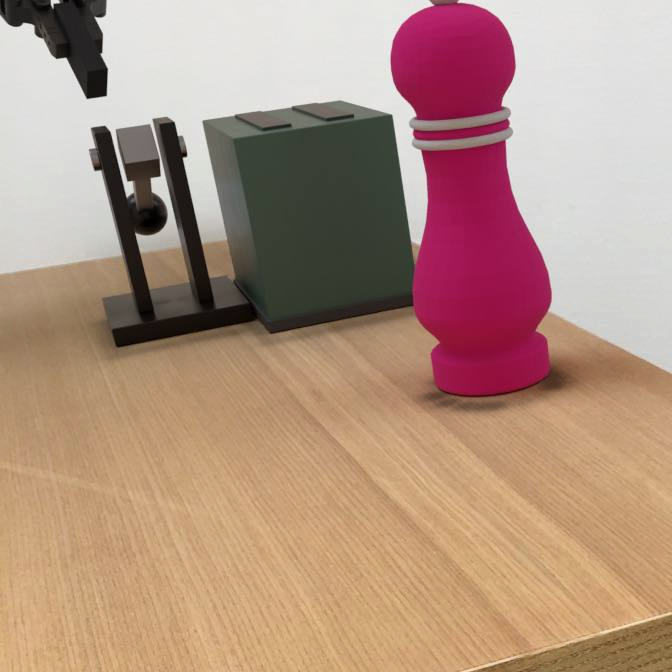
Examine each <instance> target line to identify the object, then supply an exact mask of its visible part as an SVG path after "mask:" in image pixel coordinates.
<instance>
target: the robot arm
mask: <svg viewBox="0 0 672 672" xmlns="http://www.w3.org/2000/svg"><path fill="white" fill-rule="evenodd" d="M58 1H59V2H56V3H55V2H54V3H52V0H0V17H1V18H2V19H3V21H4V22H5V23H6V24H7V25H8V26H10V27H13V28H20V27H21V26H23V24H28V25H31V26H33V27H34V30H33V31H34V35H35V36H36V37H37V38H39V39H43V41H44V43H45V45H46V47H47V49H48V52H49V53H50V55H51V56H52V57H53V58H54V59H56V60H59V59H66V60H67V62H68V64H69V66H70V69H71V71H72V72H73V74H74V76H75V79H76V81H77V83H78V84H79V86H80V88H81V91H82V92H83V95H84V97H85V98H86V100H90V99H91V100H92V99H96V98H97V99H98V98H104V97H108V82H109V81H108V78H109V76H108V75H109V68H108V66H107V64H106V62H105V60H104V58H103V56H102V54H103V50H104V49H103V47H104V46H103V45H104V32H103V31H102V29H101V27H100V25H99V23H98V20H97V19H96V18H98V19H103V18H105V17H106V16H107V6H108V5H107V4H108V3H107V2H108V0H58Z"/></svg>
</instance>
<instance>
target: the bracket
mask: <svg viewBox="0 0 672 672" xmlns="http://www.w3.org/2000/svg"><path fill="white" fill-rule="evenodd" d="M152 125H153V128H154V129H153V130H154V133H155V137H156V142H157V146H158V152H159V156H160V158H161V159H160V160H161V163H162V168H163V172H164V176H165V181H166V185H167V190H168V194H169V198H170V202H171V203H170V204H171V207H172V212H173V216H174V221H175V224H176V229H177V233H178V239H179V243H180V247H181V252H182V255H183V261H184V264H185V269H186V272H187V278H188V281H187V282H182V283H177V284H171V285H166V286H161V287H160V286H159V287H154V288H150V287H149V283H148V279H147V275H146V272H145V267H144V263H143V259H142V255H141V254H142V253H141V250H140V246H139V243H138V238H137V233H135V230H134V225H133V221H132V217H131V213H130V209H129V205H128V201H127V197H128V196H127V192H126V189H125V185H124V181H123V177H122V172H121V168H120V164H119V159H118V156H117V152H116V147H115V144H114V140H113V135H112V132H111V130H110V129H109V128H108V127H107V125H100V126H92V127H90V132H91V136H92V141H93V144H94V147H93V148H89V149H88V153H89V158H90V161H91V165H92V170H93V171H94V172H100V173H101V176H102V181H103V184H104V187H105V188H104V189H105V192H106V196H107V201H108V205H109V208H110V211H111V216H112V220H113V225H114V228H115V232H116V236H117V240H118V244H119V249H120V252H121V256H122V260H123V264H124V269H125V272H126V276H127V280H128V283H129V288H130V292H127V293H123V294H118V295H112V296H111V295H110V296H106V297H102V298H101V301H102V305H103V309H104V313H105V316H106V318H107V322H108V325H109V329H110V332H111V335H112V339H113V342H114V345H115V347H118V348H119V347H123V346H128V345H132V344H138V343H143V342H148V341H154V340H157V339H158V340H159V339H163V338H168V337H174V336H179V335H184V334H188V333H194V332H199V331H204V330H209V329H214V328H220V327H225V326H231V325H235V324H240V323H246V322H251V321H254V313H253V311H252V309H251V304H250V302H249V301H248V300H247V299H246V297H245V296H244V295H243V294H242V293H241V291H240V290H239V289H238V288H237V286H236V285H235V284H234V283H233V279H231V278H230V277H229V275H228V274H226V275H220V276H214V277H210V276H209V270H208V265H207V261H206V256H205V252H204V248H203V243H202V239H201V234H200V229H199V224H198V221H197V216H196V215H197V214H196V212H195V207H194V201H193V198H192V193H191V189H190V184H189V179H188V175H187V171H186V170H187V169H186V166H185V161H184V158H188V150H187V145H186V141H185V138H184V135H182V134H181V135H179V134H178V130H177V125H176V122H175V121H174V120H173V119H171V118H170V117H169V116H161V117H154V118H152Z"/></svg>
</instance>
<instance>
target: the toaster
mask: <svg viewBox="0 0 672 672" xmlns="http://www.w3.org/2000/svg"><path fill="white" fill-rule="evenodd" d="M201 123H202V128H203V131H204V136H205V137H204V138H205V140H206V142H205V143H206V144H207V145H206V146H207V151H208V156H209V160H210V165H211V169H212V174H213V179H214V183H215V189H216V193H217V198H218V202H219V208H220V212H221V217H222V222H223V226H224V230H225V235H226V241H227V246H228V251H229V255H230V259H231V264H232V269H233V273H234V274H233V275H234V277H235V278H233V279H232V282H233V283H234V284H235V285H236V286H237V288H238V289H239V290H240V291H241V293H242V294H243V295H244V296H245V297H246V299H247V300H248V301H249V302H250V304H251V309H252V313H253V315H255V316H256V318H257V319H258V320H259V321H260V323H261V324H262V325H263V327H264V328H265V329H266V330H267V331H268V333H269V334H272V333H278V332H283V331H288V330H293V329H298V328H303V327H307V326H313V325H318V324H323V323H327V322H334V321H338V320H343V319H348V318H352V317H358V316H362V315H367V314H373V313H379V312H382V311H388V310H393V309H398V308H403V307H408V306H414V302H413V280H414V271H415V266H416V263H415V258H414V250H413V244H412V238H411V231H410V224H409V217H408V210H407V204H406V196H405V190H404V189H405V188H404V183H403V176H402V169H401V164H400V163H401V162H400V156H399V150H398V149H399V148H398V143H397V135H396V129H395V123H394V115H393V114H392V113H388V112H384V111H380V110H377V109H373V108H370V107H366V106H363V105H359V104H355V103H351V102H348V101H344V100H333V101H326V102H311V103H304V104H298V105H297V104H296V105H292V106H291V107H284V108H278V109H271V110H265V111H263V110H257V111H250V112H243V113H236V114H235V113H234V115H229V116H223V117H216V118H210V119H209V118H208V119H203V120H202V121H201Z"/></svg>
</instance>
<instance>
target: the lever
mask: <svg viewBox="0 0 672 672" xmlns="http://www.w3.org/2000/svg"><path fill="white" fill-rule="evenodd" d="M115 135H116V142H117V143H116V144H117V149H118V152H119V155H120V160H121V164H122V168H123V171H124V175H125V179H126V182H127V183H128V182H132V190H133V192H132V193H131V194H129V195H128V196H126V197H127V201H128V205H129V209H130V213H131V217H132V221H133V225H134V230H135V234H136V235H139V236H146V237H147V236H154V235H156V234H158V233H160V232H161V231H162V230H163V229H164V228H165V226H166V224H167V222H168V218H169V212H168V208H167V204H166V203H165V201H164V199H162V197H161V196H160V195H158V194H156V193H155V192H153V188H152V179H154V178H160V177H161V176H162V173H161V172H162V171H161V159H160V158H161V157H160V153H159V149H158V147H157V143H156V140H155V136H154V133H153V129H152V125H151V124H150V123H148V124H141V125H140V124H139V125H135V126H128V127H120V128H116V129H115Z"/></svg>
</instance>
